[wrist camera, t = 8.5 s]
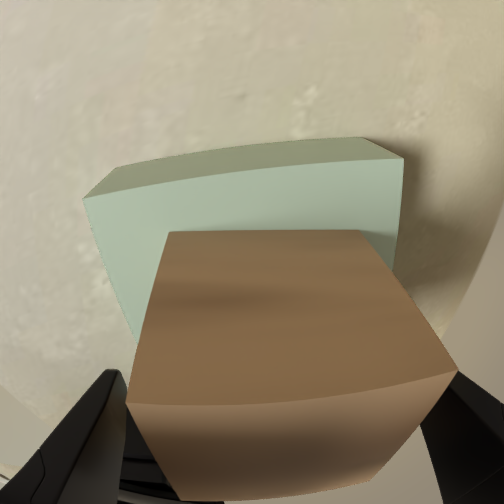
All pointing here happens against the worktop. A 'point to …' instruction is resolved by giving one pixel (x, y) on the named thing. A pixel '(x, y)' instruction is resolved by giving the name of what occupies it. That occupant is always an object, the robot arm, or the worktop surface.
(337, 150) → the sage box
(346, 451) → the walnut cube
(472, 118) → the worktop surface
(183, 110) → the worktop surface
